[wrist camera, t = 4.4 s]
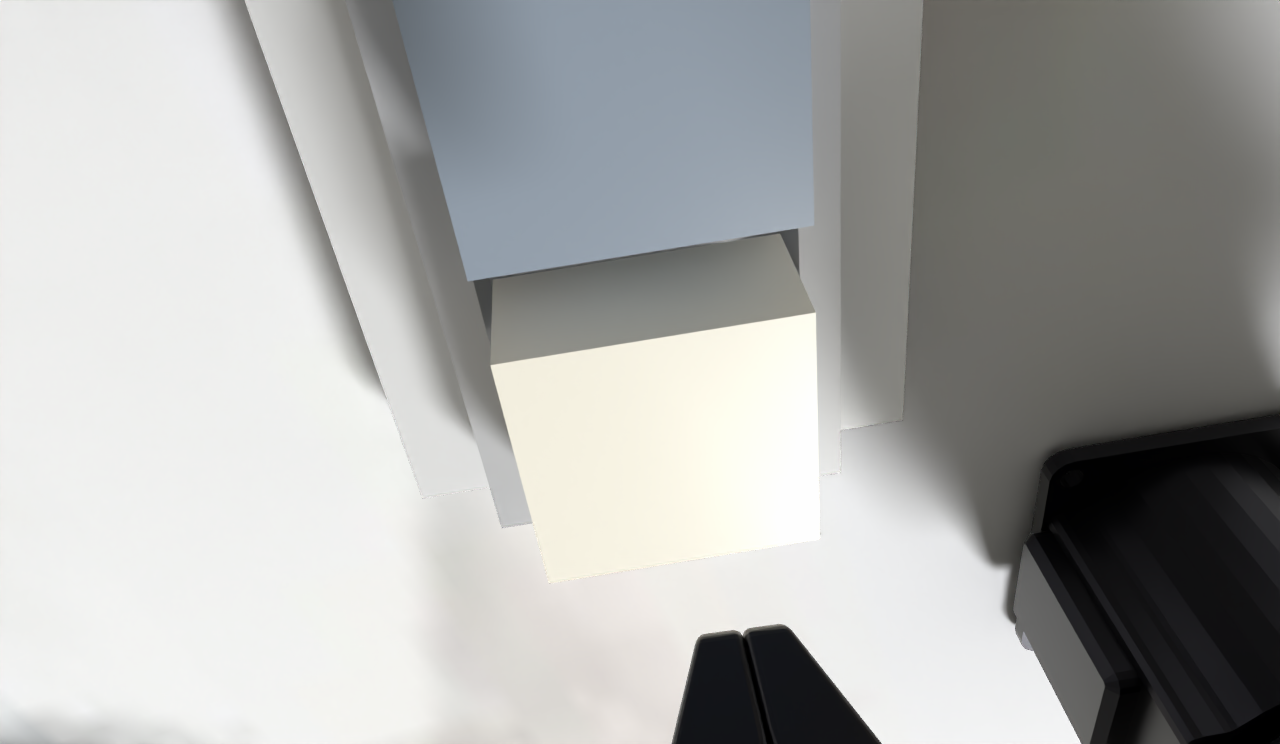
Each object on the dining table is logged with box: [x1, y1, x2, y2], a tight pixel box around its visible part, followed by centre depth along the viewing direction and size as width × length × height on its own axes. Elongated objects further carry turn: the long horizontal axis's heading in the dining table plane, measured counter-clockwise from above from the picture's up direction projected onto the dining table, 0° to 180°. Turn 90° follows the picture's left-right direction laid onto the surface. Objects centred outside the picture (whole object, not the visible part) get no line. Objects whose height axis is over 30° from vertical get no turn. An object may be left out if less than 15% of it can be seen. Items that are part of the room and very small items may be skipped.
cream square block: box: [490, 234, 820, 584], centre depth 14 cm, size 4×4×2 cm
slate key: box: [392, 0, 814, 281], centre depth 11 cm, size 4×4×2 cm
